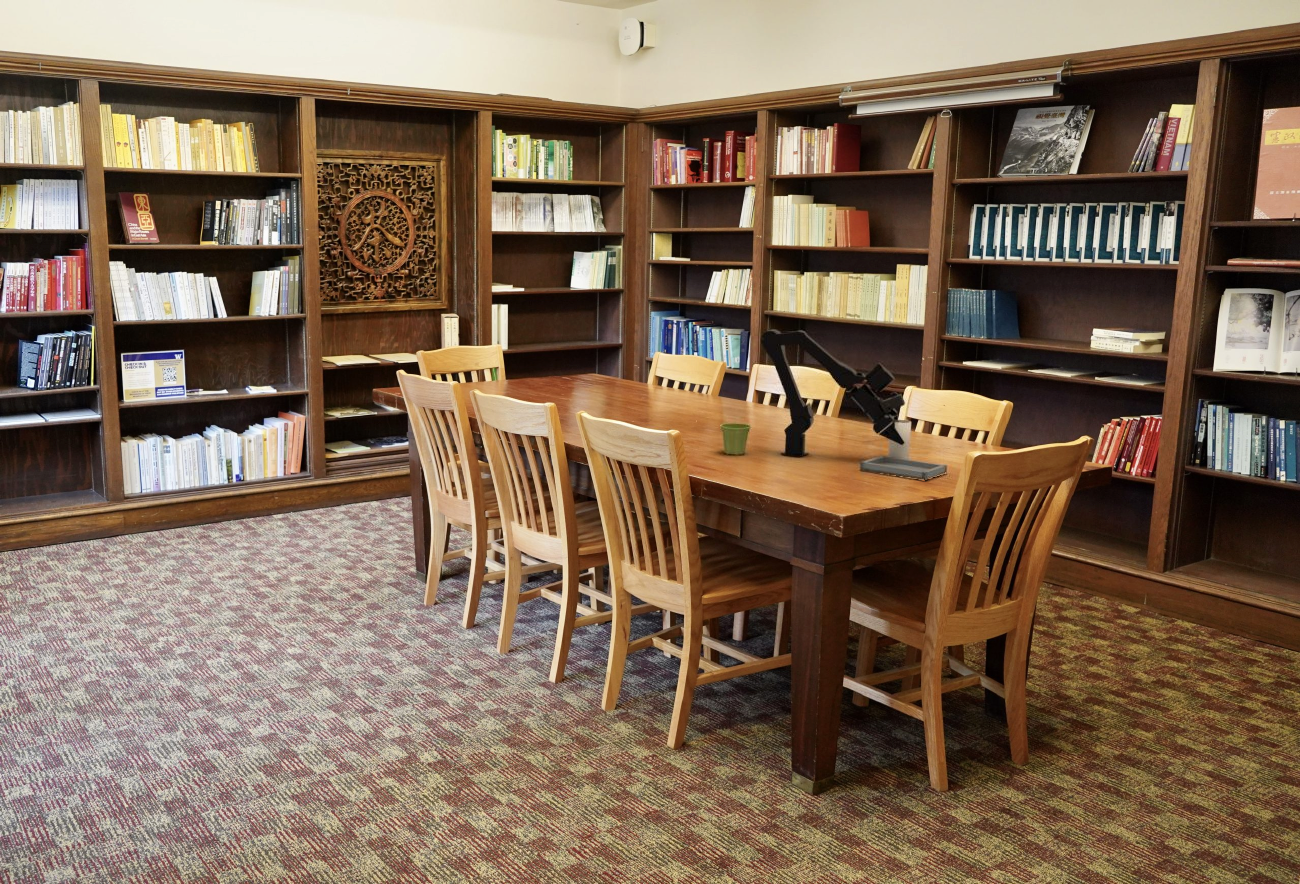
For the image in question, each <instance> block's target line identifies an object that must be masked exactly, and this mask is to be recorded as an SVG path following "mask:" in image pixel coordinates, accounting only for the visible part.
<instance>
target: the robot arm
mask: <svg viewBox="0 0 1300 884" xmlns="http://www.w3.org/2000/svg"><path fill="white" fill-rule="evenodd" d="M760 343H761V346H762V347H763V349H764V351H765V353H766V354H767V355H768V357H769V358H770V360H772V363H773V365H774V367H775V371H776V373H777V375H778V378H779V380H780V383H781V386H782V389H783V392H784V394H785V397H786V400H787V403H788V406H789V415H790V421H791V423H790V424H788V425H787V427H785V429H784V434H785V444H784V447H785V448H784V451H783V452H780V455H785V456H790V457H797V458H800V457H803V456H808V455H810V453H809V452H806V432H807V431H808V430H809V429H810V428H811V427H812V425H813V424H814V422H815V418H814V416H815V414H816V413H814V412H813V409H812V405H811V402H808V403H805V401H804V400H803V398H802V396H801V393H800V390H799V388H798V385H797V382H796V380H795V377H794V375H793V372H792V370H791V366H790V365H789V361H788V359H787V356H786V346H789V345H798V346H799V347H800V348H801V349H803V350H804V351H805V352H806V353H807V354H808V355H809V356H811V357H812V358H813V360H815V361H817V363H819V364H820V365H821V366H822V367H824V368H825V369H826V371H827V372H828V373H829V375H830V376H831V377H832V379H833V380H834V382H835V383H836V384H837V385H838V386H839V387H840V388H841V389H849V388H852V389H850V390H849V391H848V390H846V391H845V392H844V394H845V395H844V398H845V399H844V401H845V402H847V401H848V400H850V399H851V398H852V400H853V401H854V402H855V403H856V404H857V405H858V406H859V407H860V409H862V413H864V415H867V416H868V417H869V419H870V420H871V421H872V424H873V425H872V430H873V431H874V432H875V434H877V435H879V436H882V437H884V438H885V439H888V440H889V439H890V440H892V441H894V442H896V443H898V444H900V445H903V444H904V443H905V442H904V441H903V439H902V437H901V436H900V434H899V433H898V431H897V430H896V428H895V420H899V413H898V411H897V410H896V408H901V407H903V406H905V404H906V402H905V399H904V397H903V395H902V393H898V392H896V391H893V392H891V393H890V395H889V397H888V398H886V399H883V398H882V397H878V396H877V395H876V392H877V391H879V392H880V393H881V392H883V390H885V389H886V388H887V387H888V386H889V385H891V384H892V382H894V381H895V380H896V378H895V377H894V375H893V374H892V372H891V371H890V370H889V369H887V368H886V367H885V366H883V365H882V363H877V364H876V365H875V366H874V368H872V369H871V370H870V371H869V372H867V373H863V372H857V371H856V370H855V369H854V368H852V367H851V366H850V365H848V364H846V363H844V362H842V361H840V360H838V359H837V358H835V357H834V356H833V355H832V354H830V352H828V351H827V350H826V349H825V348H824V347H822V346H821V345H820V344H819V343H818V342H817V341H815V340H814V339H813V338H812V337H811V336H810V335H808V333H807V332H806V331H804V330H795V331H793V330H792V331H779V330H778V329H775V328H773V329H769V330H766V331H765V332H764V333H763V334H762V335H761V337H760ZM864 381H865V382H864ZM863 382H864V383H863ZM862 383H863V384H862ZM858 384H861V385H860V386H859V385H858ZM853 386H854V387H853ZM873 391H874V392H875V393H874V392H873ZM892 421H893V422H892Z"/></svg>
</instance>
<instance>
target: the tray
mask: <svg viewBox="0 0 1300 884" xmlns="http://www.w3.org/2000/svg"><path fill="white" fill-rule="evenodd" d="M860 470H863V471H862V472H864V471H870V472H875V473H874V474H876V473H883V474H889V475H896V476H903V477H911V478H917V479H924V480H926V479H928V478H931V477H934V476H937V475H940V474H943V473H945V472H946V473H947V470H948V465H945V464H940V463H939V464H938V463H933V462H928V461H927V462H926V461H919V460H913V459H909V460H908V459H901V458H895V457H889V456H888V455H881V456H877V457H873V458H869V459H867V460H863V461H860V464H859V471H860ZM870 472H869V473H870Z"/></svg>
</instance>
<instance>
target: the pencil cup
mask: <svg viewBox="0 0 1300 884" xmlns="http://www.w3.org/2000/svg"><path fill="white" fill-rule="evenodd" d="M892 422H893V421H892ZM895 428H896V430H897V431H898V433H899V434H900V436H901V437H902V439H903V441H904V442H905V443H904V444H903V445H900V444H898V443H896V442H894V441H892V440H890V439H888V441H889V442H888V451H887V452H888V453H887V454H888V455H887V456H889V457H895V458H901V459H908V460H910V449H911V448H910V446H911V431H912V430H911V429H912V420H911V421H910V420H905V419H898V420H895Z"/></svg>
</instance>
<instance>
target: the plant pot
mask: <svg viewBox="0 0 1300 884" xmlns="http://www.w3.org/2000/svg"><path fill="white" fill-rule="evenodd" d="M719 428H720V429H721V430H720V431H721V433H722V439H723V450H724V454H725V453H728V454H727V455H732V454H742V455H744V454H743V453H746V448H747V441H748V438H749V437H748V436H749V433H750V429H751V428H752V425H750V424H747V423H736V422H732V423H731V422H729V423H728V422H727V423H722V424H720V425H719Z"/></svg>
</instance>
